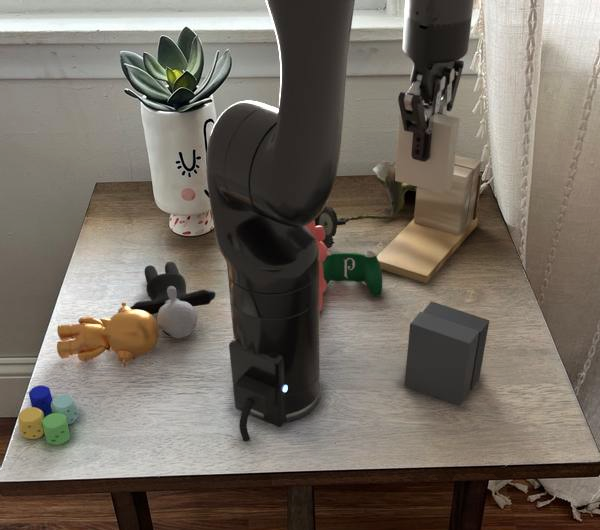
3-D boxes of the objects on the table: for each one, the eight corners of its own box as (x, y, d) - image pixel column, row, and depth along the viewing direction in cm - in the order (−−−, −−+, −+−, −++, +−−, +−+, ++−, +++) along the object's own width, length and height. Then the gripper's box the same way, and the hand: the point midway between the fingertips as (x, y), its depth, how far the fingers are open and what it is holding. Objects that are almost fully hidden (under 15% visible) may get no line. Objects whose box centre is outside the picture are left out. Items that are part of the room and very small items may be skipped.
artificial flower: (294, 242, 120) (288, 172, 116) (410, 211, 131) (408, 146, 127) (331, 253, 113) (326, 179, 109) (450, 219, 124) (449, 152, 120)
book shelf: (426, 283, 110) (433, 216, 103) (373, 266, 113) (376, 200, 106) (476, 225, 120) (486, 160, 113) (426, 211, 123) (433, 147, 116)
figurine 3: (304, 324, 104) (303, 219, 93) (279, 305, 107) (275, 202, 96) (335, 308, 106) (337, 204, 96) (309, 290, 109) (308, 188, 99)
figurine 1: (65, 381, 100) (164, 373, 99) (49, 363, 94) (153, 354, 94) (67, 318, 102) (163, 309, 102) (51, 296, 97) (152, 288, 96)
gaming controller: (381, 299, 110) (383, 255, 110) (381, 294, 106) (384, 248, 107) (312, 297, 111) (315, 253, 111) (310, 291, 107) (313, 246, 107)
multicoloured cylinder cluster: (57, 393, 95) (5, 418, 92) (52, 376, 93) (-1, 401, 90) (92, 431, 90) (38, 459, 87) (88, 414, 88) (33, 442, 85)
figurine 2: (121, 292, 110) (138, 355, 99) (113, 253, 106) (130, 315, 95) (202, 277, 112) (228, 337, 101) (197, 239, 109) (223, 297, 98)
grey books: (460, 406, 92) (470, 343, 86) (404, 385, 95) (409, 323, 89) (479, 378, 95) (490, 316, 89) (424, 358, 98) (431, 297, 92)
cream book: (444, 193, 104) (451, 126, 98) (394, 180, 107) (398, 113, 101) (452, 185, 106) (460, 118, 100) (403, 172, 109) (408, 106, 103)
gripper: (434, -13, 98) (422, 127, 110) (379, 23, 89) (373, 170, 101) (493, -3, 95) (475, 139, 107) (443, 35, 86) (428, 185, 98)
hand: (425, 153), depth 104 cm, fingers closed on cream book, 2 cm apart
